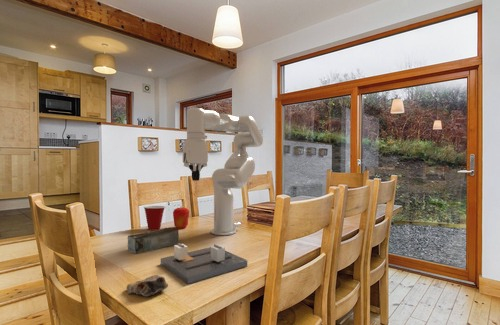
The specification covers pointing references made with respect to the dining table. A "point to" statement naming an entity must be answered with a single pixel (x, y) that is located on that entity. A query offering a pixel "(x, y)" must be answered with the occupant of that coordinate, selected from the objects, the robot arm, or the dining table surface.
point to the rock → (148, 286)
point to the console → (202, 265)
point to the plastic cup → (154, 216)
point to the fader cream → (180, 251)
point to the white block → (217, 253)
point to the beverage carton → (152, 240)
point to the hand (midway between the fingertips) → (195, 180)
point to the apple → (180, 217)
